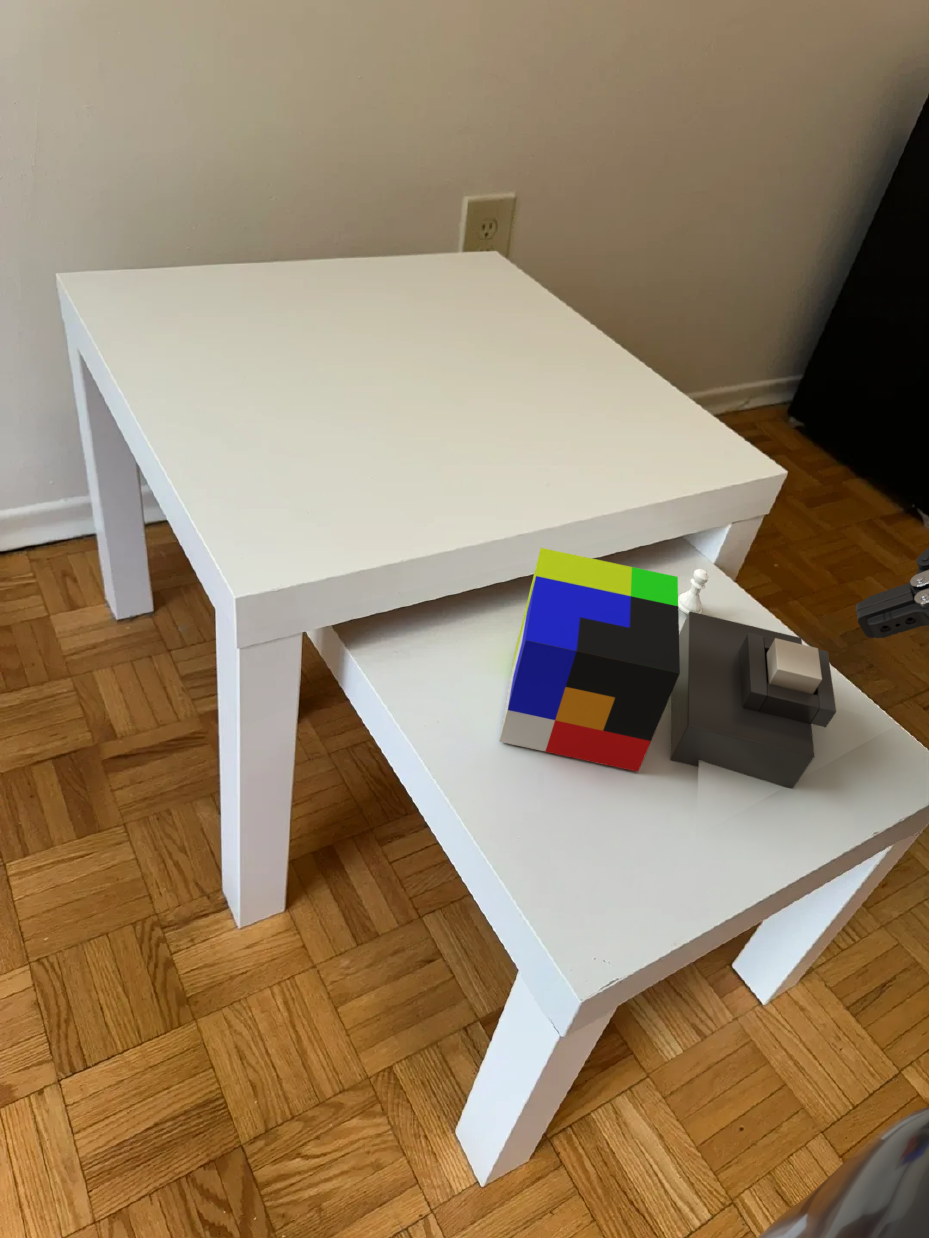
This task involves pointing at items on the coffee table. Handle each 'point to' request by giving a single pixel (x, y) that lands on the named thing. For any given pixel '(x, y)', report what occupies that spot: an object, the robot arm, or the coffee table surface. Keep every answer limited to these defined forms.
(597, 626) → the puzzle toy
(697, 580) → the chess pawn
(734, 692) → the dark grey block
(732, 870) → the coffee table surface
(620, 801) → the coffee table surface
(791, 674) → the beige push button
